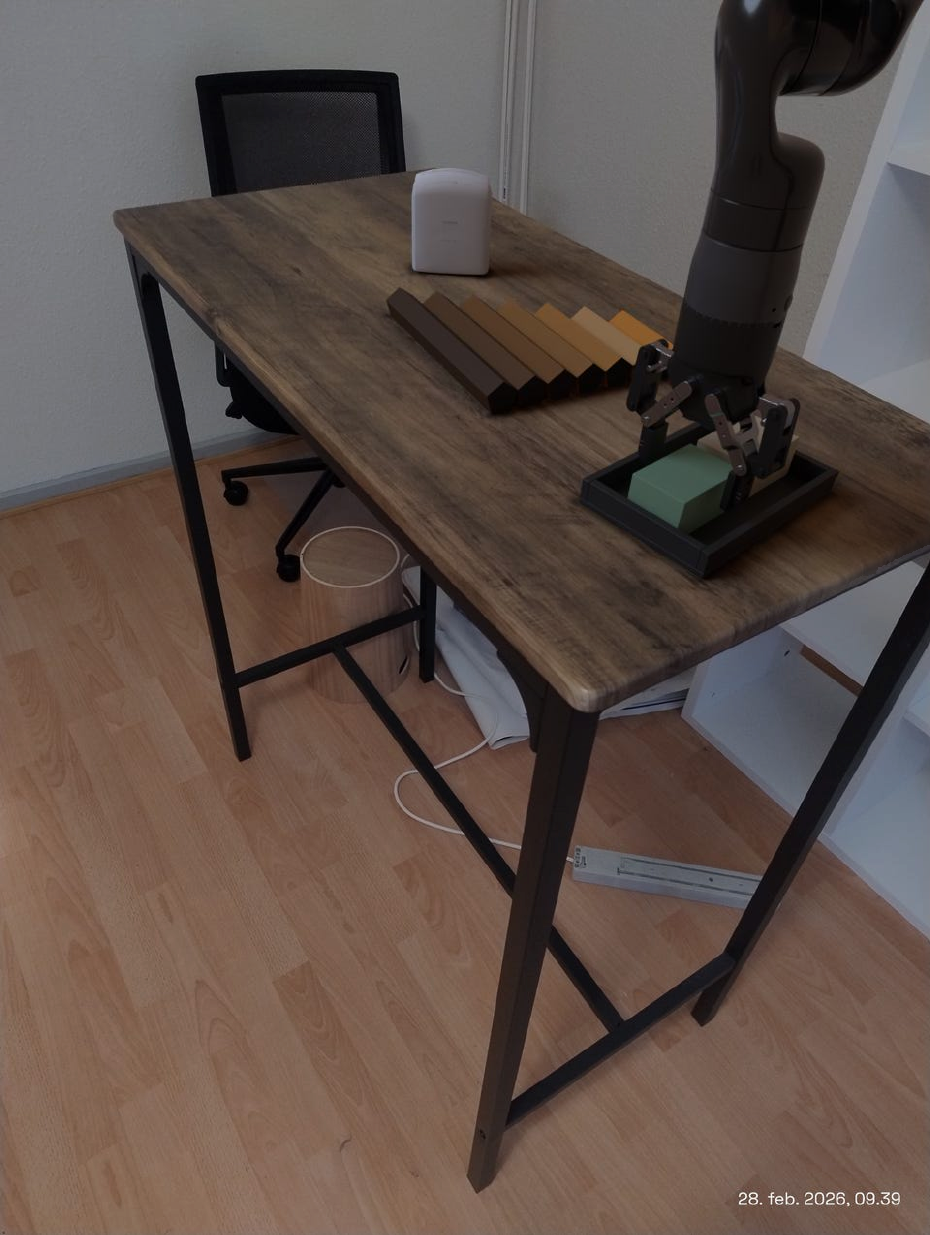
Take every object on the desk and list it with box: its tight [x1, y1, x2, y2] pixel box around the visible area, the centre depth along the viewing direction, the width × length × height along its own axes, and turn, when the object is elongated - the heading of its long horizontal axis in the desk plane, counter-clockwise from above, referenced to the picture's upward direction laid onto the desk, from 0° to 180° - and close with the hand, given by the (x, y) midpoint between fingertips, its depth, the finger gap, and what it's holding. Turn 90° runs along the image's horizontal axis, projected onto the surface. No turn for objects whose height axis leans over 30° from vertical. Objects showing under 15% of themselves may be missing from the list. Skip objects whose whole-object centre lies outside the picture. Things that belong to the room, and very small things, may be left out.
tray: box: [578, 421, 840, 579], centre depth 78 cm, size 14×20×2 cm
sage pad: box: [628, 444, 733, 534], centre depth 75 cm, size 6×8×4 cm
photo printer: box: [411, 167, 493, 276], centre depth 111 cm, size 10×4×12 cm, turn 88°
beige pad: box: [697, 415, 801, 497], centre depth 79 cm, size 6×8×4 cm
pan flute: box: [385, 286, 674, 415], centre depth 99 cm, size 25×3×25 cm
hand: (688, 484), depth 74 cm, fingers open, 8 cm apart
